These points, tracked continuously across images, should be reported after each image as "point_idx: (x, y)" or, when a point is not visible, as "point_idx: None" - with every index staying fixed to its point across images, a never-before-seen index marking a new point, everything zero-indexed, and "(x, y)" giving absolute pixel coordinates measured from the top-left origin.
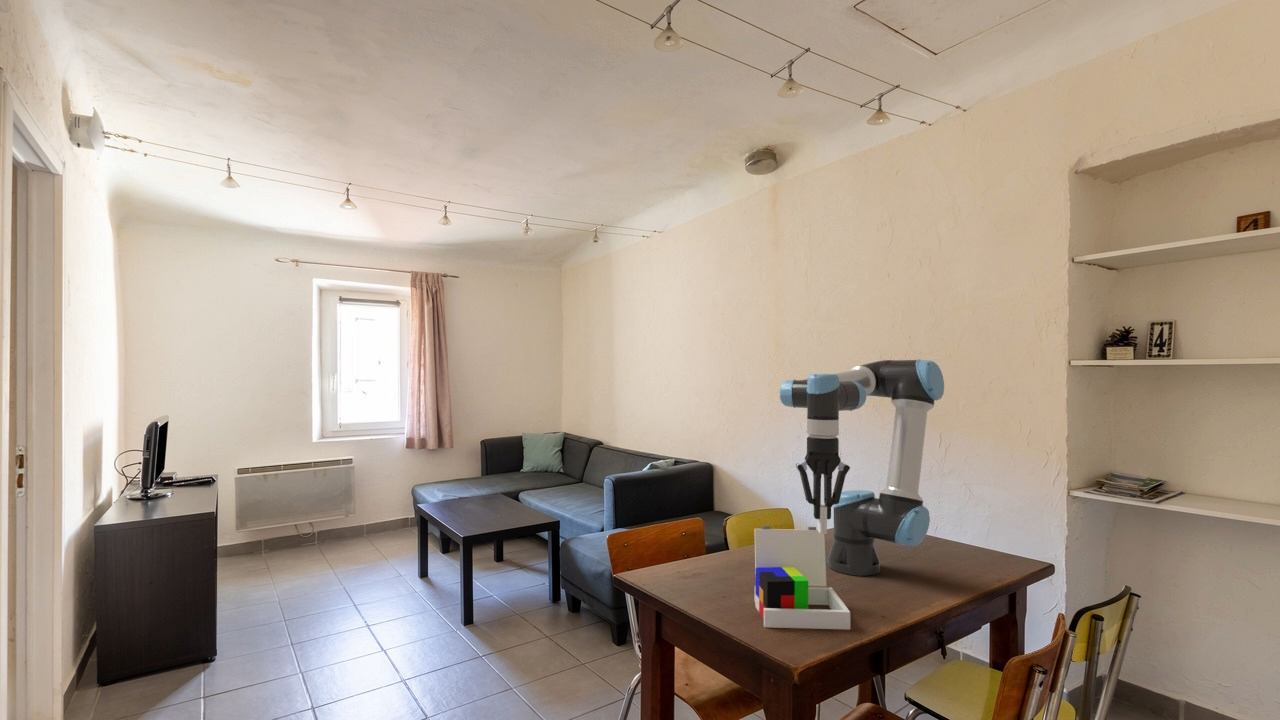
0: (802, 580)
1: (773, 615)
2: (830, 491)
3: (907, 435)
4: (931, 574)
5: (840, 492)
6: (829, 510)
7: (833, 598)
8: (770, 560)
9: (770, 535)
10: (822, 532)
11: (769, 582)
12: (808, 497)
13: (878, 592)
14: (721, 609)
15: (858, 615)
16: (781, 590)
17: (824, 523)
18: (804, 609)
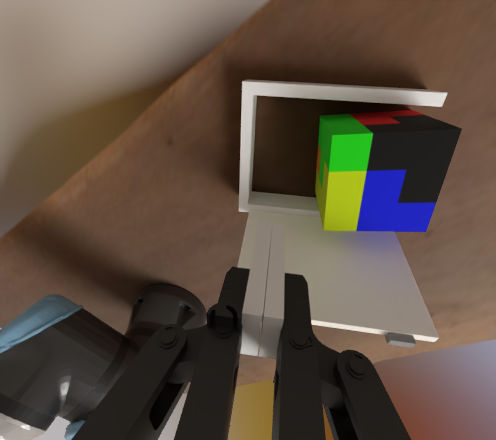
0: (347, 137)
1: (419, 90)
2: (185, 437)
3: None
4: (73, 280)
5: (102, 411)
6: (227, 301)
7: (250, 169)
8: (371, 259)
9: (384, 313)
10: (276, 226)
11: (453, 128)
12: (384, 403)
13: (156, 232)
14: (470, 180)
15: (212, 146)
16: (404, 126)
17: (265, 249)
18: (343, 97)
